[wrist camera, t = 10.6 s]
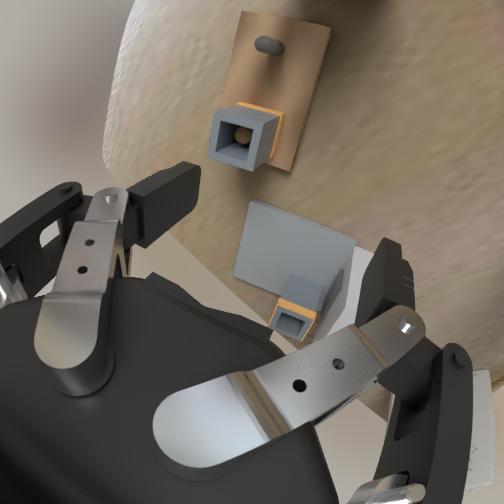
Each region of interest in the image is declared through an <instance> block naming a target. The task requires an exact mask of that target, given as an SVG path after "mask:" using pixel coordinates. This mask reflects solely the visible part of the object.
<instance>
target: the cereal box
mask: <svg viewBox="0 0 504 504" xmlns="http://www.w3.org/2000/svg"><path fill="white" fill-rule="evenodd" d="M394 398H395V395H394V394H393V393H392V392H391V396H390V405H389V413H388V421H387V428H386V434H387V430H388V426H389V421H390V417H391V412H392V408H393V403H394ZM386 434H385V438H386ZM494 466H495V426H494V409H493V398H492V389H491V381H490V374H489V369H485V370H477V371H473V425H472V439H471V449H470V458H469V466H468V472H467V478H466V484H465V489H464V494H468V493H473V492H477V491H479V490H481V489H483V488H485V487H486V486H488V485H490V484H492V483H493V481H494Z"/></svg>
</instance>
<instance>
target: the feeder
mask: <svg viewBox="0 0 504 504" xmlns="http://www.w3.org/2000/svg"><path fill="white" fill-rule="evenodd" d="M356 244H357V239H355V238H353V237H350V236H348V235H346V234H343V233H341V232H338V231H336V230H334V229H331V228H329V227H326V226H324V225H321V224H319V223H316V222H314V221H311V220H309V219H306V218H304V217H301V216H299V215H296V214H294V213H291V212H288V211H286V210H283V209H281V208H278V207H275V206H273V205H270V204H267V203H265V202H262V201H259V200H257V199H254V198H252V199H251V200H250V203H249V207H248V212H247V216H246V220H245V225H244V229H243V233H242V238H241V242H240V247H239V251H238V255H237V260H236V264H235V269H234V273H233V276H234V277H237V278H239V279H241V280H244V281H246V282H248V283H251V284H253V285H255V286H258V287H260V288H263V289H265V290H267V291H270V292H272V293H275V294H277V295H279V296H282V295H283V292H284V290H285V287H286V285H287V283H288V280H289V278H290V276H291V273H292V274H295V275H297V276H299V277H302V278H304V279H307V280H309V281H312V282H314V283H317V284H319V285H322V286H323V287H322V291H321V295H320V298H319V302H318V306H317V309H316V311H319V312H320V310H321V313H320V317H319V320H318V324H317V328H316V331H315V335H314V338H313V342H312V343H314V342H316V341H318V340H320V339H322V338H324V337H326V336H328V335H330V334H332V333H334V332H336V331H338V330H340V329H342V328H344V327H346V326H348V325H350V324H354V322H355V317H356V312H357V307H358V301H359V295H360V289H361V283H362V278H363V275H364V273H365V270H366V268H367V266H368V264H369V262H370V261H371V259H372V257H373V255H374V253H371V252H369V251H367V250H364V249H362V248H360V247H357V246H356ZM321 308H322V309H321Z"/></svg>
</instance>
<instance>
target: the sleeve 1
mask: <svg viewBox="0 0 504 504" xmlns="http://www.w3.org/2000/svg"><path fill="white" fill-rule="evenodd" d="M284 117H285V113H282V112H279V111H275V110H272V109H268V108H264V107H261V106H257V105H253V104H249V103H245V102H237V104H236V105H235V106H231V107H227V108H223V109H220V110H216V111H214V117H213V123H212V129H211V135H210V142H209V149H208V155H207V158H211V159H214V160H217V161H220V162H224V163H227V164H230V165H233V166H236V167H239V168H242V169H245V170H248V171H251V172H253V171H254V170H255V169H256V168H258V167H259V166H260V165H261V164H262V163H263V162H264V161H266V160H267V159H268V158H271V159H272V158H273V157H274V156H275V152H276V148H277V144H278V140H279V136H280V132H281V128H282V124H283V121H284ZM242 126H244V127H247V128H251V129H254V130H253V134H252V139H251V141H250V142H248V143H246V144H241V143H239V142H238V141H237V140H236V139H235V131H236V130H237V129H238V128H240V127H242Z"/></svg>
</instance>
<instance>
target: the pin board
mask: <svg viewBox="0 0 504 504" xmlns="http://www.w3.org/2000/svg"><path fill="white" fill-rule="evenodd" d="M330 34H331V28H330V27H327V26H323V25H319V24H315V23H311V22H306V21H302V20H297V19H292V18H287V17H281V16H275V15H269V14H262V13H254V12H245V11H242V12H241V16H240V20H239V25H238V29H237V33H236V38H235V42H234V47H233V51H232V56H231V61H230V65H229V70H228V75H227V80H226V85H225V90H224V96H223V101H222V106H221V109H223V108H227V107H231V106H235V105H236V104H237V102H245V103H249V104H253V105H257V106H261V107H264V108H268V109H272V110H275V111H279V112H282V113H285V117H284V121H283V124H282V128H281V132H280V136H279V140H278V144H277V148H276V152H275V156H274V157H273V158H272V159H271V158H268V159H267V160H266V161H264V162H263V163H266V164H269V165H272V166H275V167H278V168H280V169H283V170H286V171H289V172H290V170H291V169H292V168H293V164H294V161H295V157H296V154H297V151H298V147H299V144H300V140H301V137H302V133H303V130H304V126H305V123H306V120H307V116H308V113H309V109H310V106H311V102H312V99H313V95H314V92H315V88H316V84H317V81H318V77H319V74H320V70H321V67H322V63H323V59H324V56H325V52H326V48H327V45H328V41H329V37H330ZM253 130H254V129H251V128H247V127H244V126H242V127H240V128H238V129H237V130H236V131H235V139H236V140H237V141H238V142H239V143H241V144H246V143H248V142H250V141H251V139H252V134H253Z"/></svg>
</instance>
